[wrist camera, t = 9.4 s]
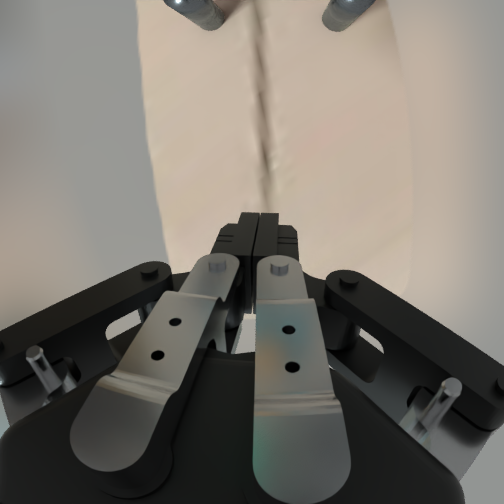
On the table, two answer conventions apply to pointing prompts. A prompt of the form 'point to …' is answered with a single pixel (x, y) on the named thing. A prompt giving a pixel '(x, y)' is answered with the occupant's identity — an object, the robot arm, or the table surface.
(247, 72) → the table surface
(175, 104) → the table surface
